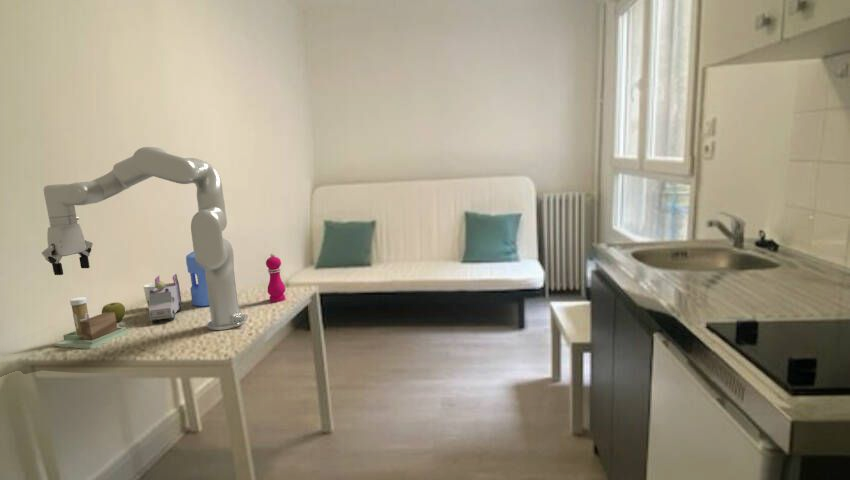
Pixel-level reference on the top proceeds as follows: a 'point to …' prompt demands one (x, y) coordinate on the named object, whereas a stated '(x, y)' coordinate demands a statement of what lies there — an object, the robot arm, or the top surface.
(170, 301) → the toy vehicle
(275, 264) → the pepper mill
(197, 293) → the water jug
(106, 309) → the apple
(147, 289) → the white cup
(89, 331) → the brown cuboid brick
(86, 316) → the sprinkles bottle
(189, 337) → the top surface
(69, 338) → the jig
